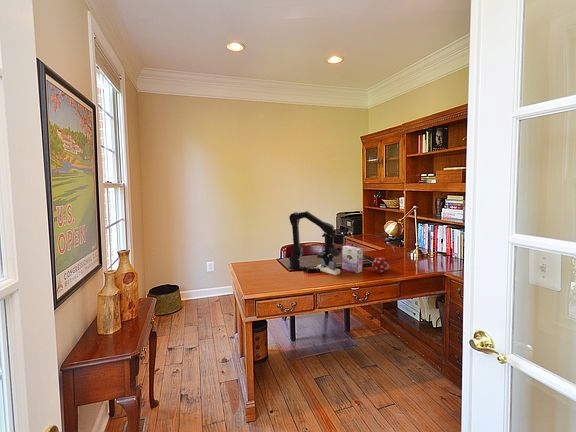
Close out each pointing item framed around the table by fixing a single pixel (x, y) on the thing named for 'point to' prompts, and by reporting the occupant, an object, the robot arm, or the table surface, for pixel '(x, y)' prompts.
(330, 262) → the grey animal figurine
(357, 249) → the candy box
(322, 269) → the rail
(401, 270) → the table surface
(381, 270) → the decorative mushroom
